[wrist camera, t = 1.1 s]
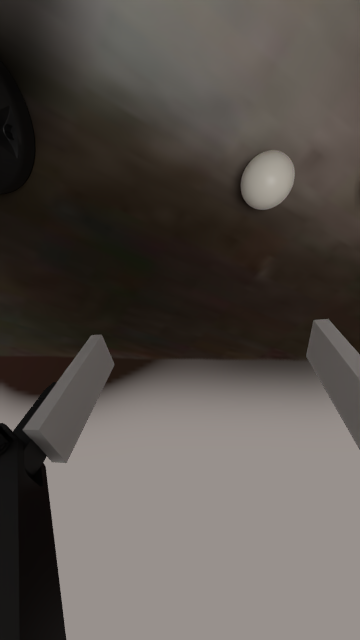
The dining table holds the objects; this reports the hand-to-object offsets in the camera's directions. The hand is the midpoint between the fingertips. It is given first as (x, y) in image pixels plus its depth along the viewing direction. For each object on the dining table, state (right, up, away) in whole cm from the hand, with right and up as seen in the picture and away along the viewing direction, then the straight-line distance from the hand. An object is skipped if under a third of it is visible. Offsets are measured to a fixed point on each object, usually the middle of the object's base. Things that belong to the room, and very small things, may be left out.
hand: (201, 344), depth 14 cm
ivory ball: (+8, +17, +10) cm, 21 cm away
